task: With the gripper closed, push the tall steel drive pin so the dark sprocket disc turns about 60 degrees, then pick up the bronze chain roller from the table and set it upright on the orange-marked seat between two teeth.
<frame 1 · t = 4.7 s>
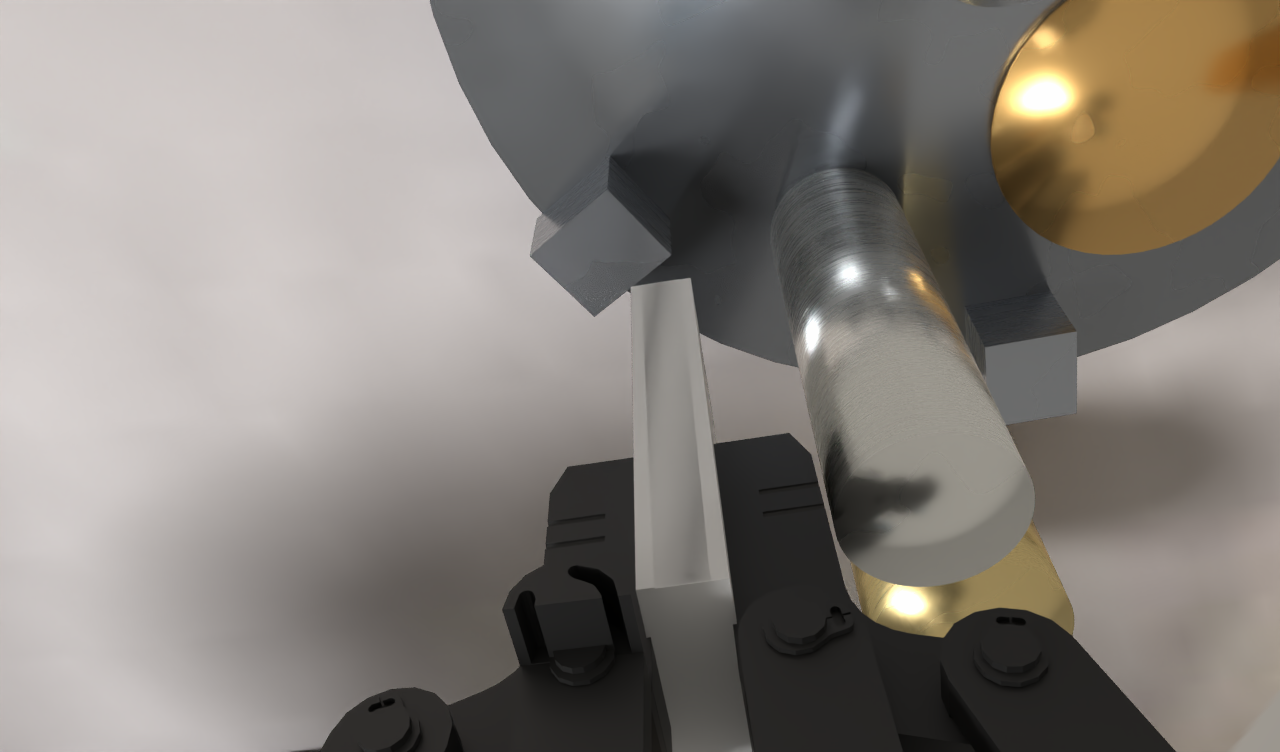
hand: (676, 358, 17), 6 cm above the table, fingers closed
chain roller: (918, 480, 26), on the table
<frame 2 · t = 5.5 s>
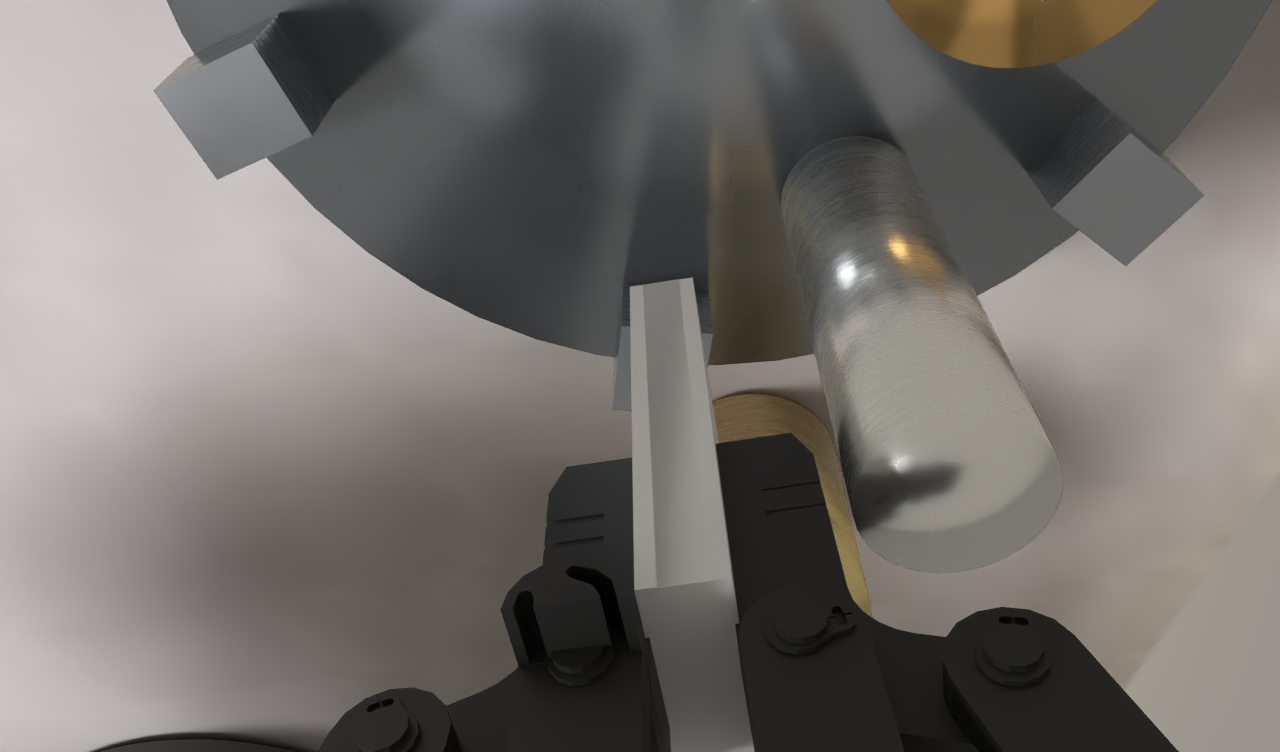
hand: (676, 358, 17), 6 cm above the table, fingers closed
chain roller: (748, 463, 26), on the table
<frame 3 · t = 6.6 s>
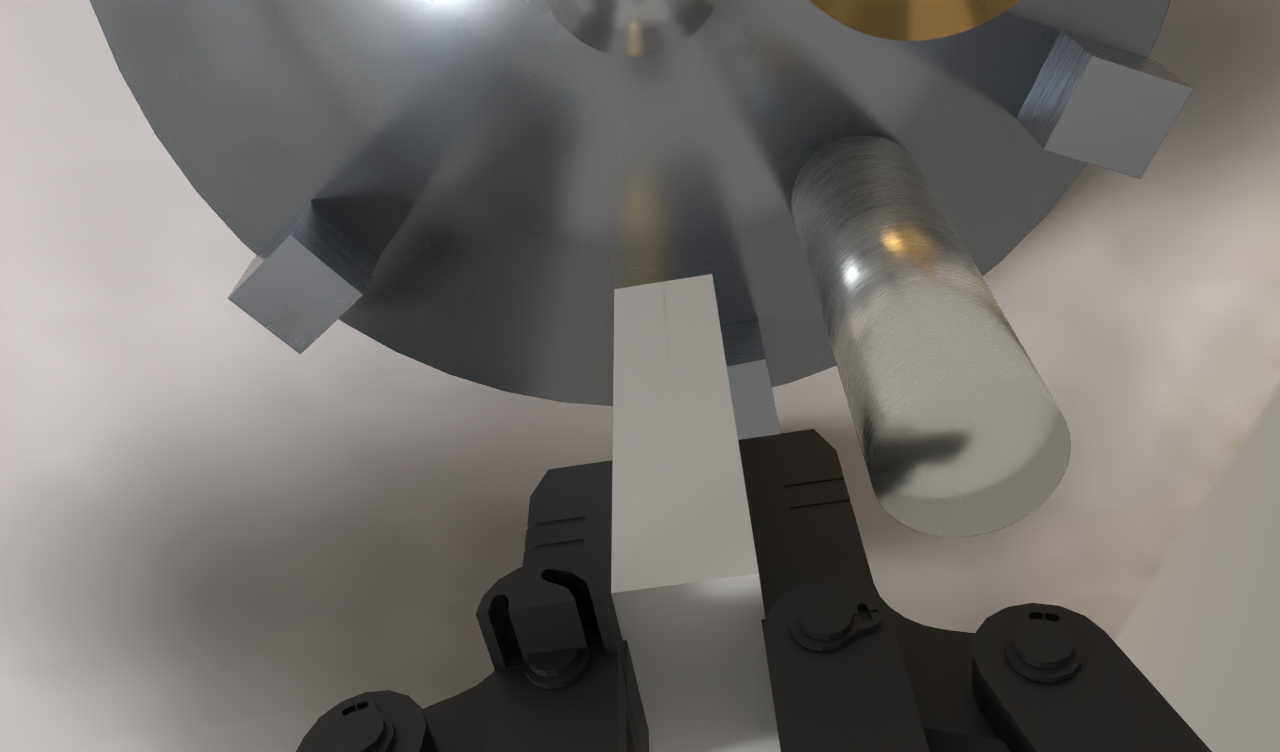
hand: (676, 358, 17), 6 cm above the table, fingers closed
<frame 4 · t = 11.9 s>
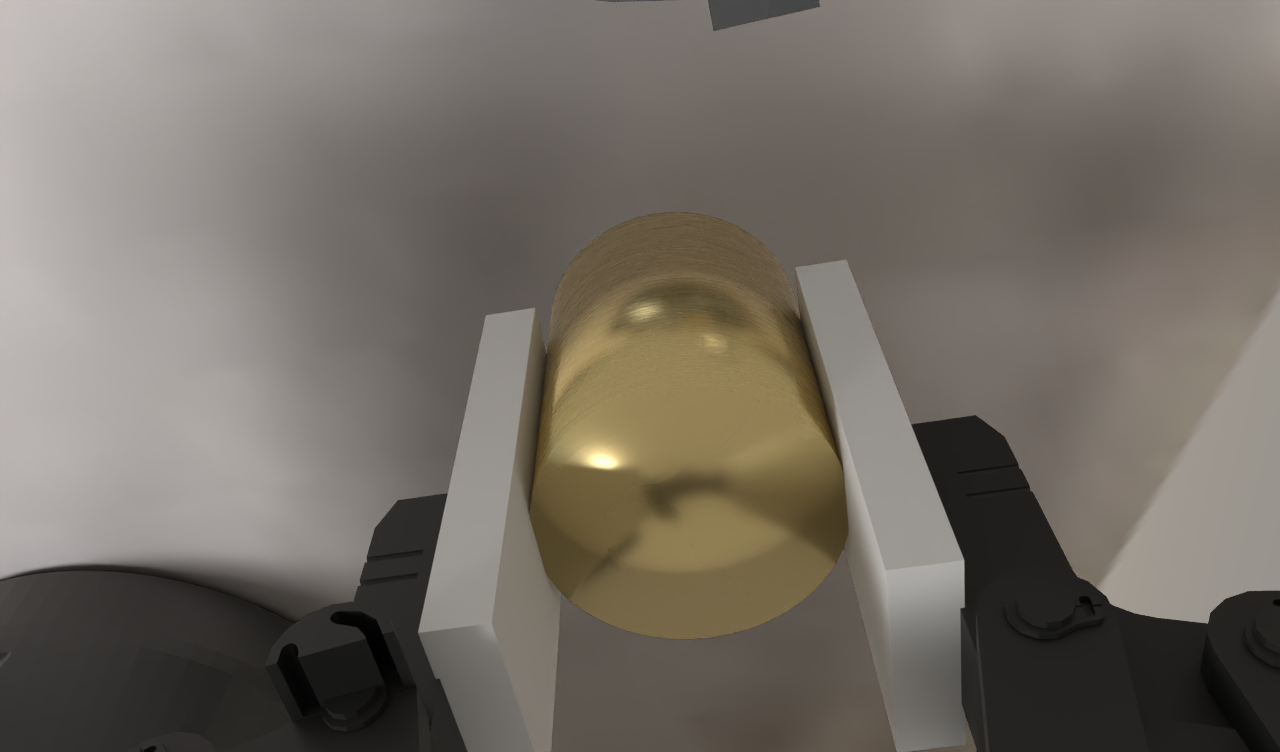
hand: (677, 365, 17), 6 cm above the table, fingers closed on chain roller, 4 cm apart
chain roller: (673, 325, 18), point 5 cm above the table, touching gripper
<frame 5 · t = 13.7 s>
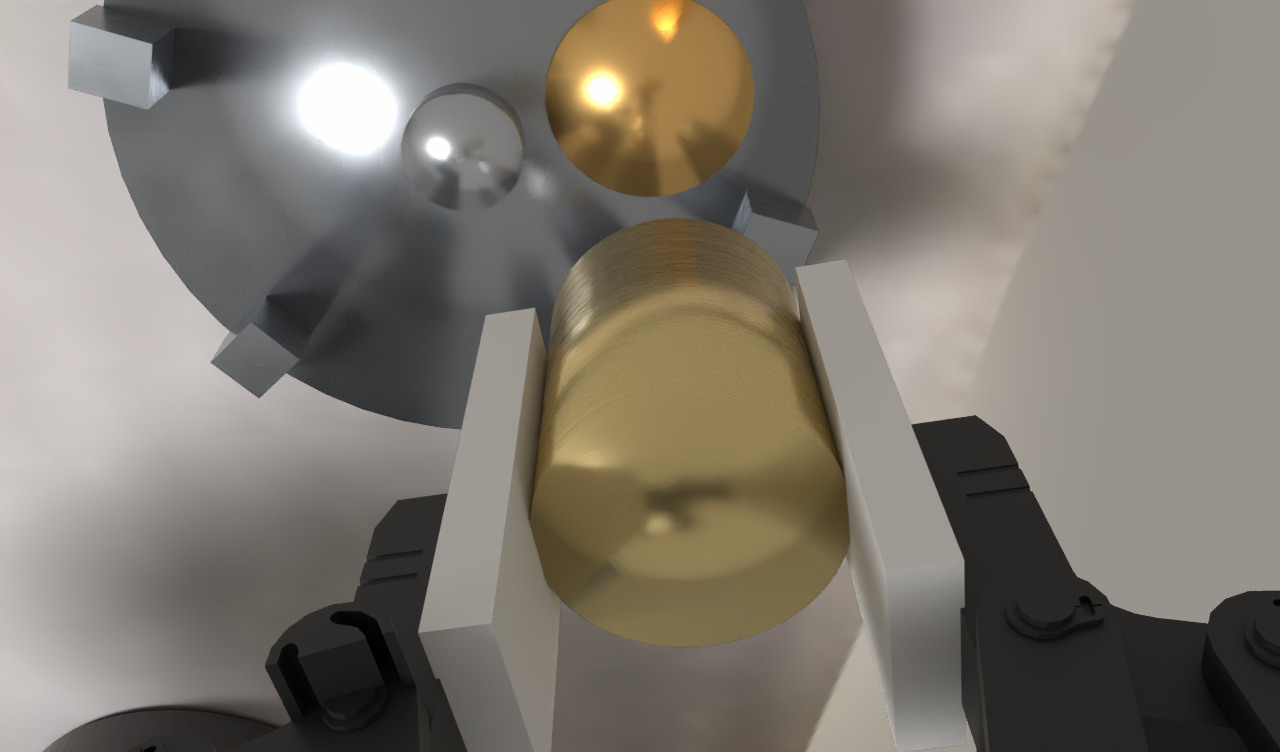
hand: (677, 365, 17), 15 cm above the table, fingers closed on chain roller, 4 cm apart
chain roller: (674, 331, 18), point 14 cm above the table, touching gripper
sprocket: (451, 186, 25), point 5 cm above the table, hinge at 63.5°
when the fingers open (4 cm above the table, at t = 15.8 s): chain roller stays where it is, resting on sprocket.
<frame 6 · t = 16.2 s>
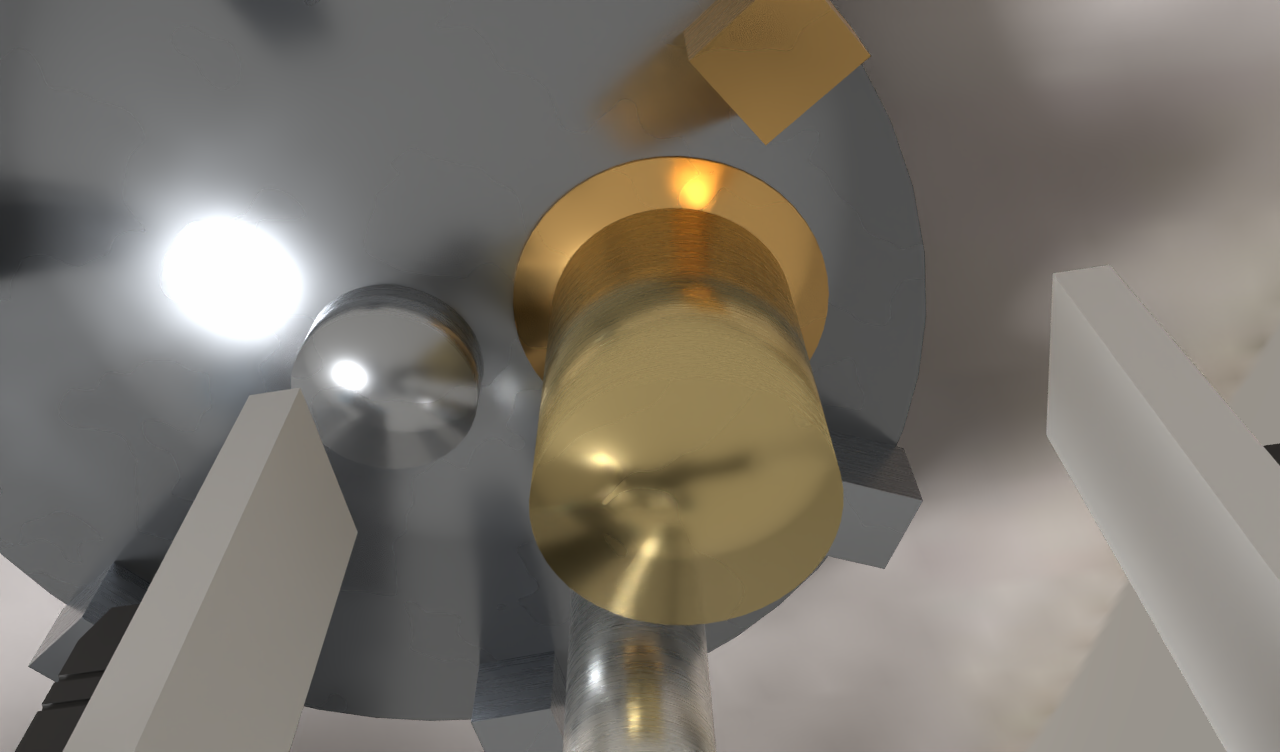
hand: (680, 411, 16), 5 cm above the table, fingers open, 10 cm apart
chain roller: (671, 319, 18), point 2 cm above the table, touching sprocket
sprocket: (359, 469, 16), point 5 cm above the table, hinge at 63.5°, touching chain roller
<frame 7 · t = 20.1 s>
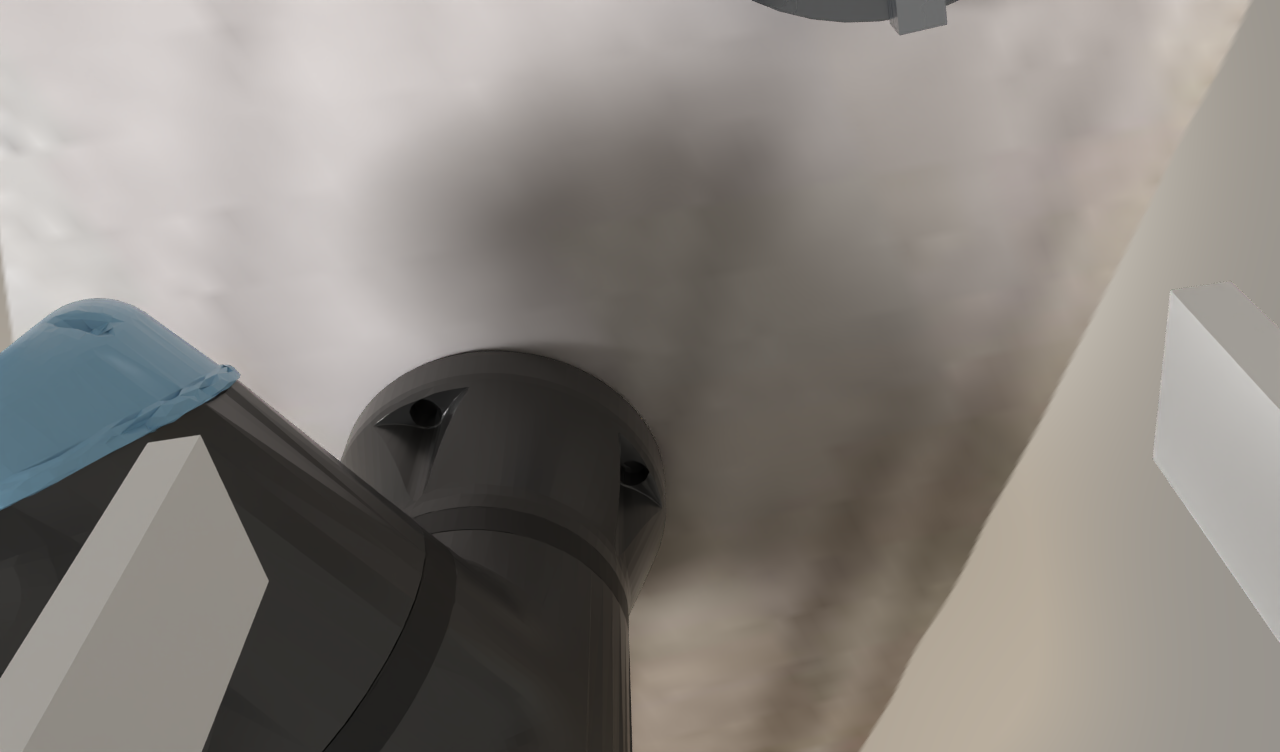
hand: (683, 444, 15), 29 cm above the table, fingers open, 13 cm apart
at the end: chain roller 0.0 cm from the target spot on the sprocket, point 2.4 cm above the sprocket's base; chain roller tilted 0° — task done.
